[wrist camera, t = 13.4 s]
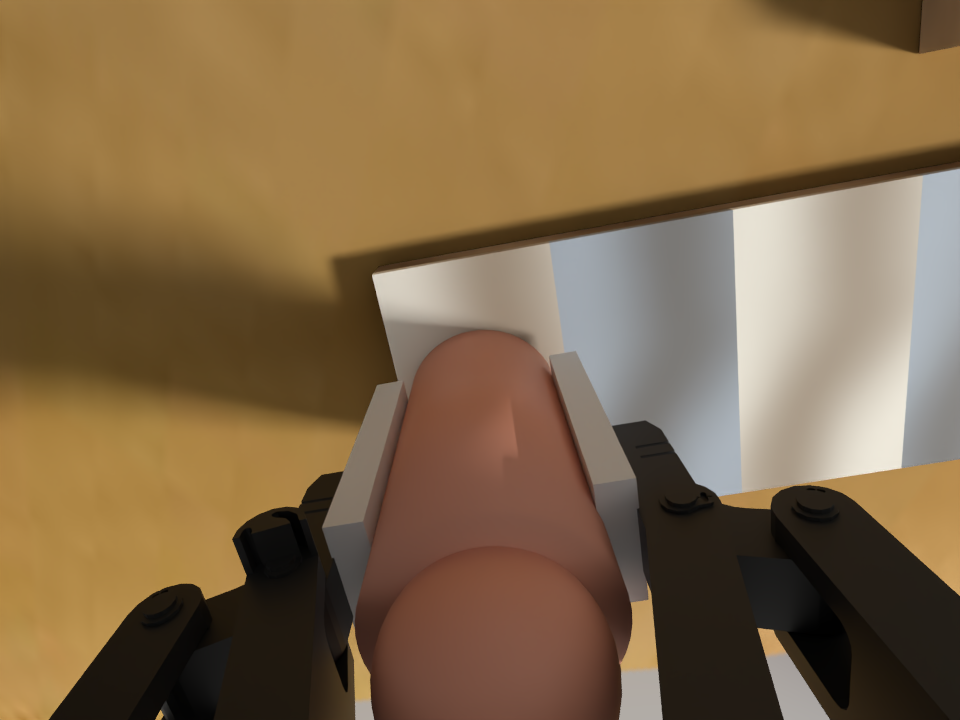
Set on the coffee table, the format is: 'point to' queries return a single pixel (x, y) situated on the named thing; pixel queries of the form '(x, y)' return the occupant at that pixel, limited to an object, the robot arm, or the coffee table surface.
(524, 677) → the pink rounded cylinder
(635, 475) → the robot arm
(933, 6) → the stand
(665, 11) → the coffee table surface
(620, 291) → the board
